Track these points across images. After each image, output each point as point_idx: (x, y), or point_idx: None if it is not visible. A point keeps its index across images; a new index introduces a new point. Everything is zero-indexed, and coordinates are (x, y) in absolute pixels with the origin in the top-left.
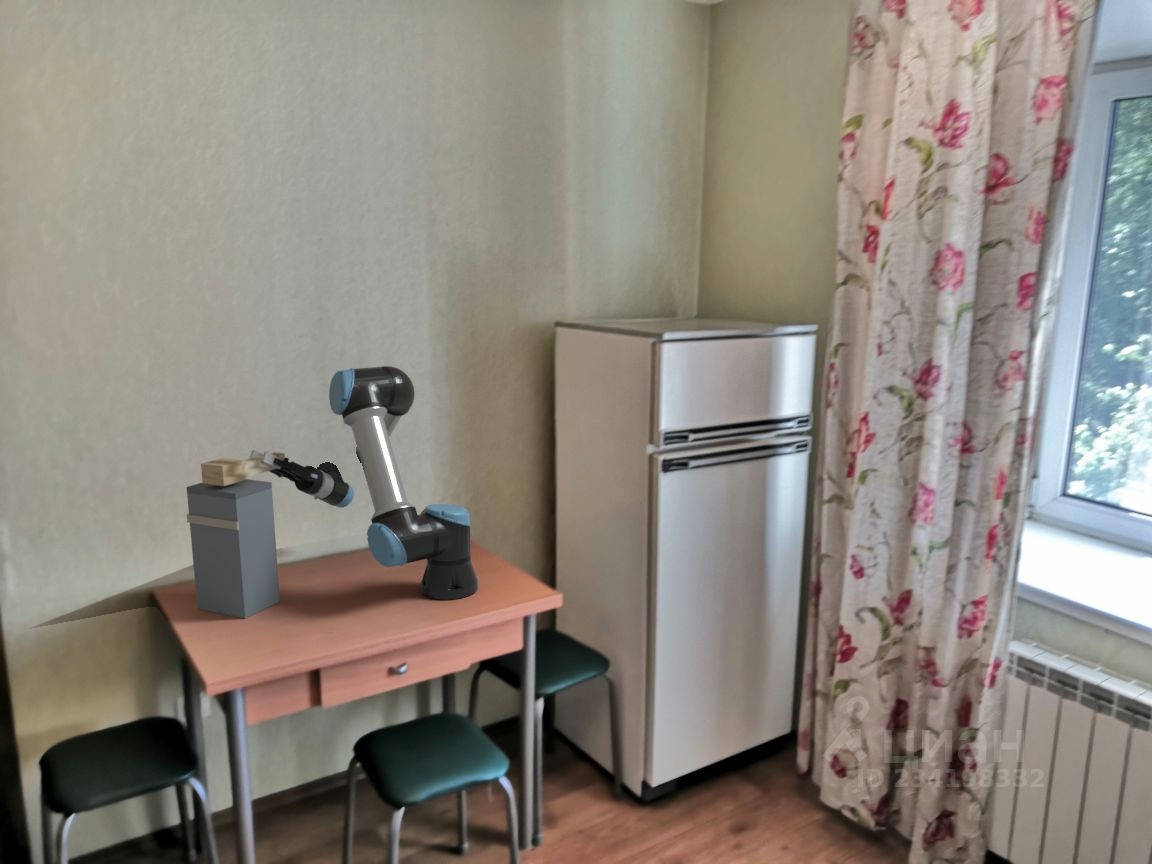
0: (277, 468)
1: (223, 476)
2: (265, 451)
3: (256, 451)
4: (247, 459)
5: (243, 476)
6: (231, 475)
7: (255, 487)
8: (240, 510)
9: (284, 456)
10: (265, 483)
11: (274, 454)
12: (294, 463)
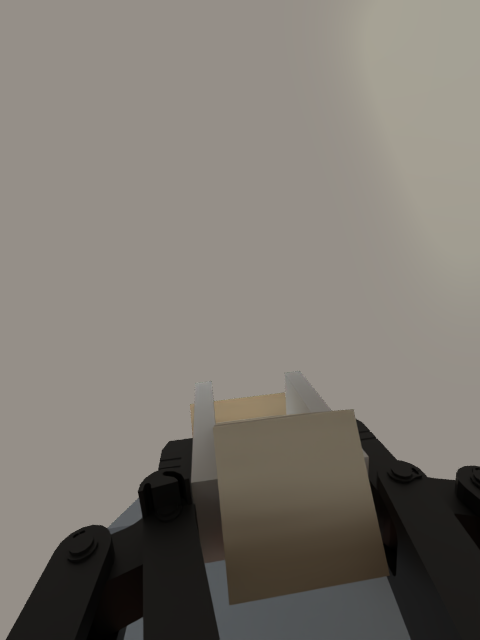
0: (221, 549)
1: None
2: (204, 382)
3: (290, 380)
4: (278, 415)
5: None
6: None
7: (132, 504)
8: None
9: (217, 467)
10: (124, 518)
11: (258, 420)
12: (56, 562)
